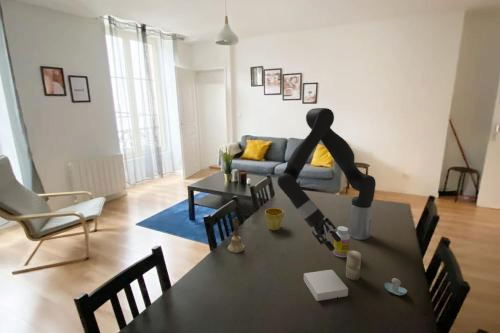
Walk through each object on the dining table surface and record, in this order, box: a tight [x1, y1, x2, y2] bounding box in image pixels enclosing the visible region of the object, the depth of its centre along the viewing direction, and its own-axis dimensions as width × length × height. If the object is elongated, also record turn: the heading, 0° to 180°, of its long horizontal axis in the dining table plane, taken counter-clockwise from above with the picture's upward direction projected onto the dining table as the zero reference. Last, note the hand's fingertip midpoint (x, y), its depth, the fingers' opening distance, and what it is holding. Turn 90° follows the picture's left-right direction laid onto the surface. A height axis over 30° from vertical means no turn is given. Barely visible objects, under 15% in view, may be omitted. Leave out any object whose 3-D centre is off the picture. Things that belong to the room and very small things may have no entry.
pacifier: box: [384, 277, 408, 296], centre depth 103 cm, size 7×6×6 cm
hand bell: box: [227, 216, 246, 254], centre depth 132 cm, size 8×8×16 cm
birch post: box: [345, 250, 362, 281], centre depth 111 cm, size 5×5×10 cm
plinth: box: [303, 269, 349, 302], centre depth 105 cm, size 12×12×3 cm
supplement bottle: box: [332, 225, 351, 258], centre depth 127 cm, size 7×7×13 cm
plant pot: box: [264, 207, 285, 231], centre depth 154 cm, size 10×10×10 cm
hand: (336, 245), depth 113 cm, fingers open, 8 cm apart
